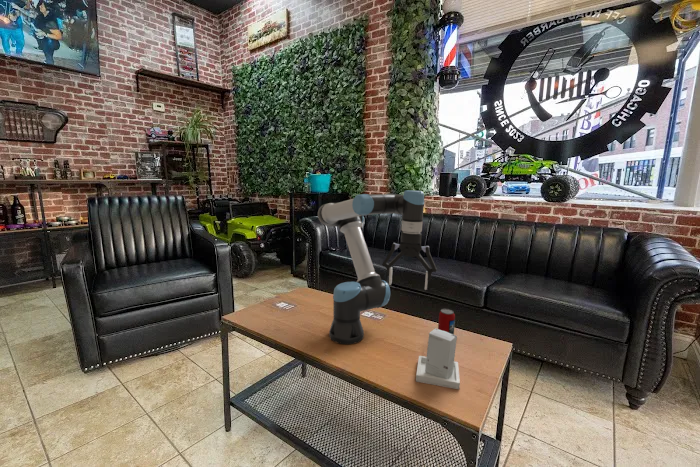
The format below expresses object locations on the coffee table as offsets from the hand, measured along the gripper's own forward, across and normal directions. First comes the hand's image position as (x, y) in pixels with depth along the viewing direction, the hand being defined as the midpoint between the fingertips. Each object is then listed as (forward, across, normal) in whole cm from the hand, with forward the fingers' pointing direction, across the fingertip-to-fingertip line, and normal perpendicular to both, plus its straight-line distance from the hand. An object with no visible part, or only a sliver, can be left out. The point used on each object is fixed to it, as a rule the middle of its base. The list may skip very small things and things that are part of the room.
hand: (407, 286), depth 119 cm
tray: (+27, +14, -12) cm, 32 cm away
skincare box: (+26, +14, -12) cm, 32 cm away
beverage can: (+28, +17, +18) cm, 37 cm away
